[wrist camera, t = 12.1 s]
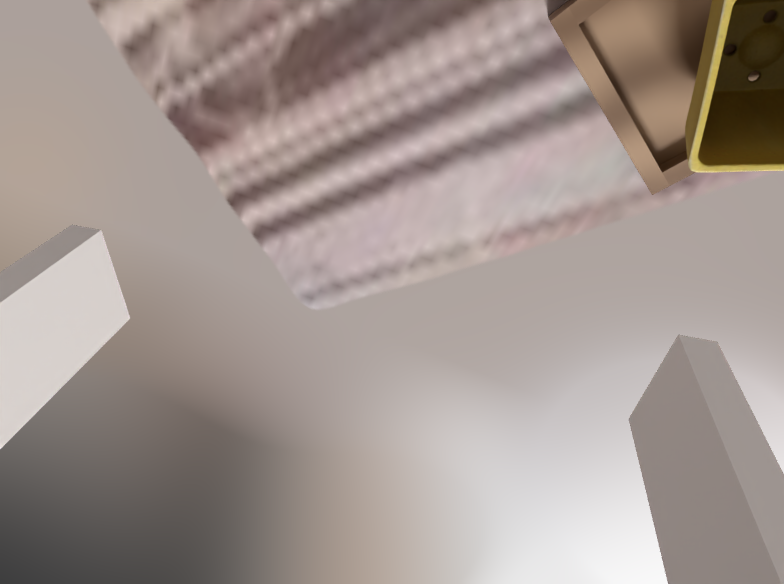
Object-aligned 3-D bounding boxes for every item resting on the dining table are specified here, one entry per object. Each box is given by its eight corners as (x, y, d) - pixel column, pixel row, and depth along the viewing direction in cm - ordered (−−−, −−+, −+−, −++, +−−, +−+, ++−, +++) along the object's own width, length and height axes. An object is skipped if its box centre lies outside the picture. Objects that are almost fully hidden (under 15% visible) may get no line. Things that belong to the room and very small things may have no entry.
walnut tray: (548, 16, 31) (550, 21, 30) (802, -184, 24) (824, -194, 23) (645, 182, 36) (652, 195, 35) (880, 55, 29) (903, 63, 27)
